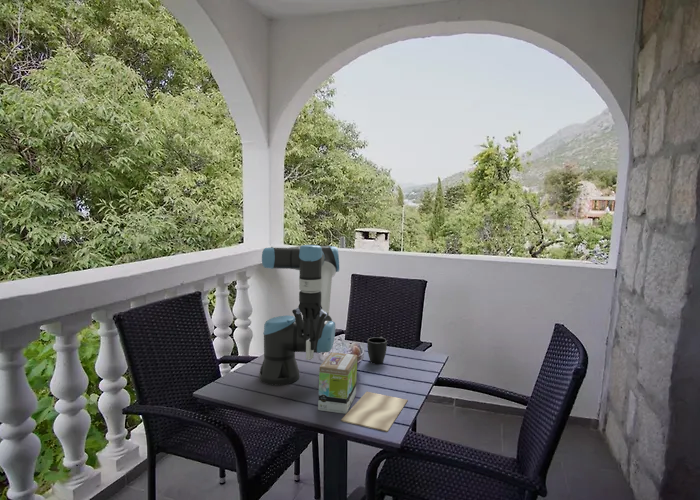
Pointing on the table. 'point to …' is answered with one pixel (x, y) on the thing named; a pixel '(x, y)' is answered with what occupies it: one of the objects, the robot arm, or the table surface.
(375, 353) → the mug
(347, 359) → the tea box
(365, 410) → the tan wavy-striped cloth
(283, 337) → the robot arm
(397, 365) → the table surface
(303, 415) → the table surface
